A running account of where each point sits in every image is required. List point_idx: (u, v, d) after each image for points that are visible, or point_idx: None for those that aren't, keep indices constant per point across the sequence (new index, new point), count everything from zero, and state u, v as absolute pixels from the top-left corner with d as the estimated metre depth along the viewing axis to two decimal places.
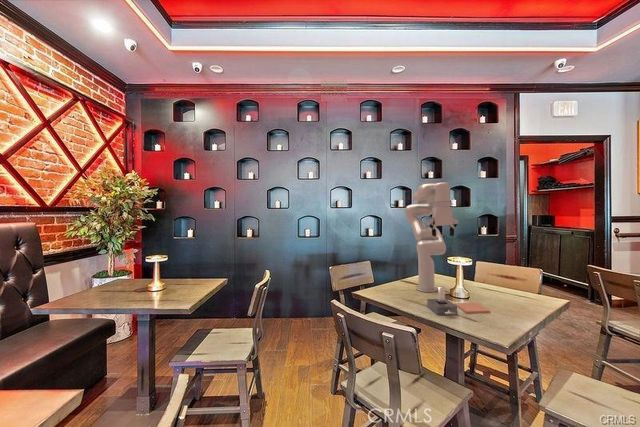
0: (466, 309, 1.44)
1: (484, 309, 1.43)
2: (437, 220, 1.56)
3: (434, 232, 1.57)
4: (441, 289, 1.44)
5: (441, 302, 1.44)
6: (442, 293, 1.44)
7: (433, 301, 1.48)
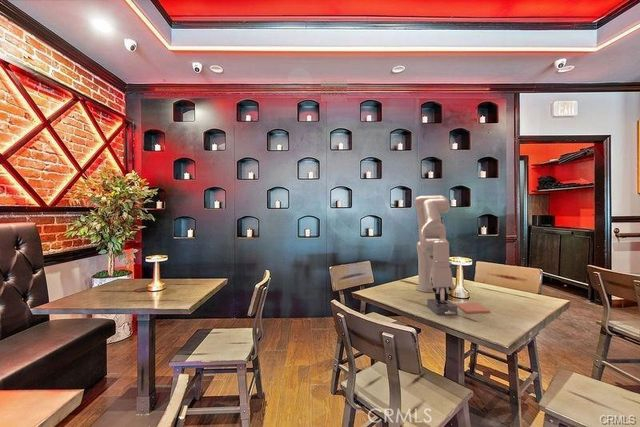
0: (466, 309, 1.44)
1: (484, 309, 1.43)
2: (435, 282, 1.43)
3: (438, 297, 1.44)
4: (441, 289, 1.44)
5: (441, 302, 1.44)
6: (442, 293, 1.44)
7: (433, 301, 1.48)
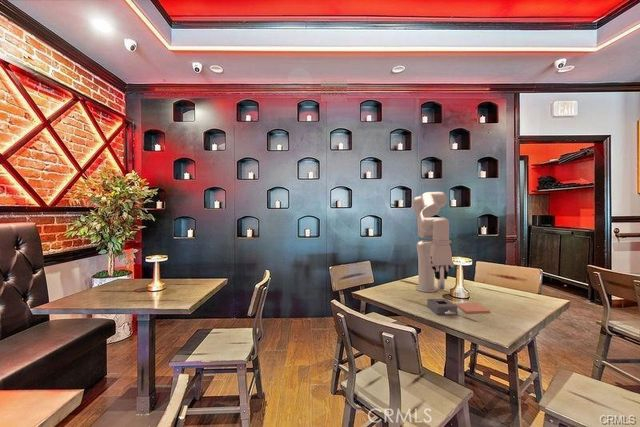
0: (466, 309, 1.44)
1: (484, 309, 1.43)
2: (435, 260, 1.43)
3: (437, 275, 1.45)
4: (441, 267, 1.44)
5: (441, 280, 1.45)
6: (442, 271, 1.44)
7: (433, 301, 1.48)
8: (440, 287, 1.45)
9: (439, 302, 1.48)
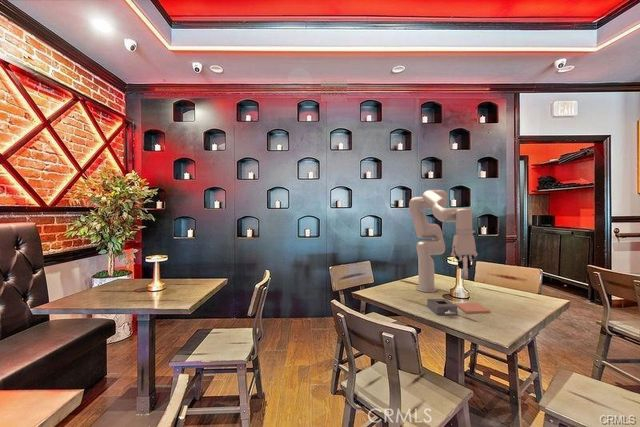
0: (466, 309, 1.44)
1: (484, 309, 1.43)
2: (458, 249, 1.44)
3: (460, 264, 1.45)
4: (464, 257, 1.45)
5: (464, 270, 1.45)
6: (465, 261, 1.45)
7: (433, 301, 1.48)
8: (463, 276, 1.45)
9: (439, 302, 1.48)
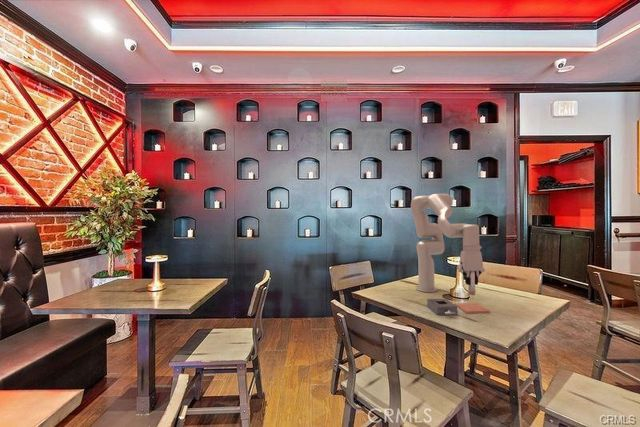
0: (466, 309, 1.44)
1: (484, 309, 1.43)
2: (466, 265, 1.44)
3: (468, 280, 1.46)
4: (471, 273, 1.45)
5: (471, 286, 1.45)
6: (472, 277, 1.45)
7: (433, 301, 1.48)
8: (471, 292, 1.46)
9: (439, 302, 1.48)
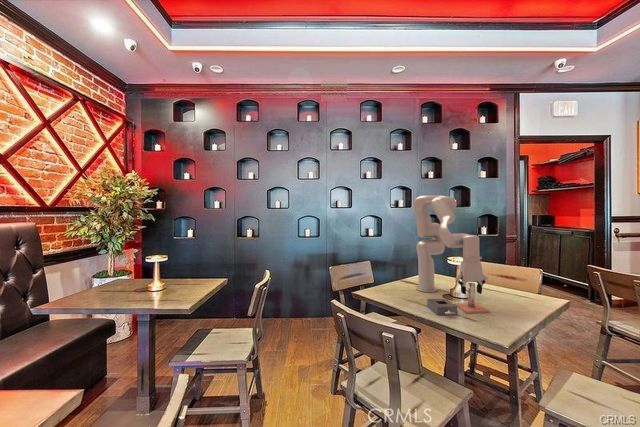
0: (466, 309, 1.44)
1: (484, 309, 1.43)
2: (466, 276, 1.45)
3: (464, 290, 1.46)
4: (471, 285, 1.46)
5: (471, 298, 1.46)
6: (472, 289, 1.46)
7: (433, 301, 1.48)
8: (470, 305, 1.46)
9: (439, 302, 1.48)
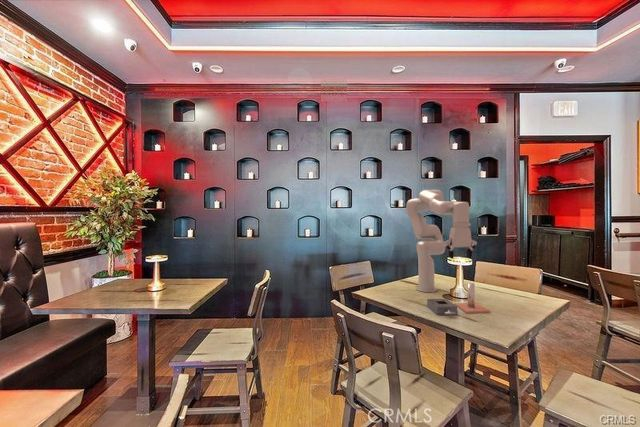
0: (466, 309, 1.44)
1: (484, 309, 1.43)
2: (455, 242, 1.48)
3: (451, 254, 1.49)
4: (471, 286, 1.46)
5: (471, 298, 1.46)
6: (472, 290, 1.46)
7: (433, 301, 1.48)
8: (470, 305, 1.46)
9: (439, 302, 1.48)
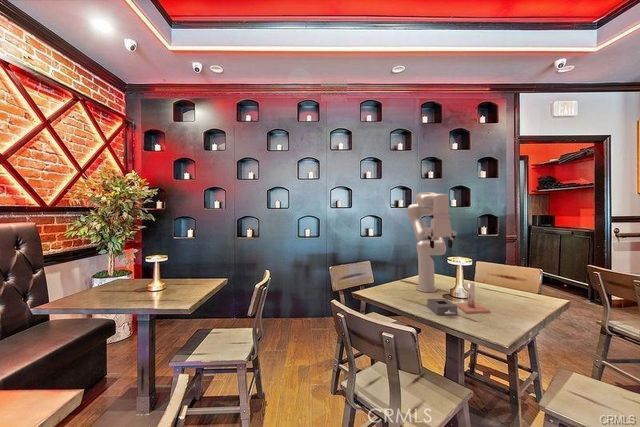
0: (466, 309, 1.44)
1: (484, 309, 1.43)
2: (435, 232, 1.54)
3: (432, 244, 1.55)
4: (471, 286, 1.46)
5: (471, 298, 1.46)
6: (472, 290, 1.46)
7: (433, 301, 1.48)
8: (470, 305, 1.46)
9: (439, 302, 1.48)
